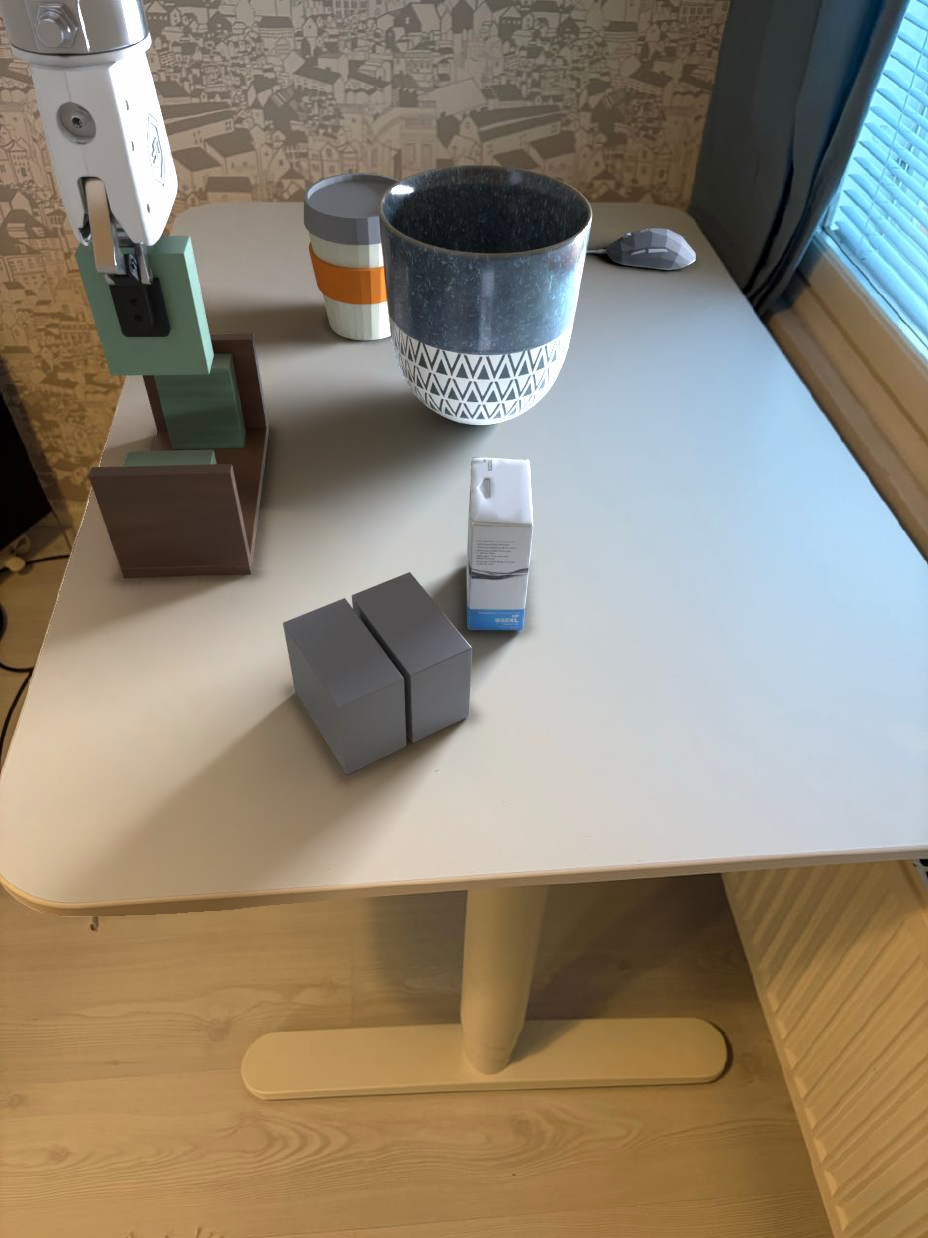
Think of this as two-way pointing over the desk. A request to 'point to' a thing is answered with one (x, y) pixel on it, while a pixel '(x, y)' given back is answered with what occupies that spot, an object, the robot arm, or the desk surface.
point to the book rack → (193, 472)
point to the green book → (184, 306)
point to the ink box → (498, 543)
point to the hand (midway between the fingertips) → (151, 319)
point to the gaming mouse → (650, 250)
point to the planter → (482, 285)
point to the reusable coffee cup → (349, 252)
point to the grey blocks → (379, 670)
